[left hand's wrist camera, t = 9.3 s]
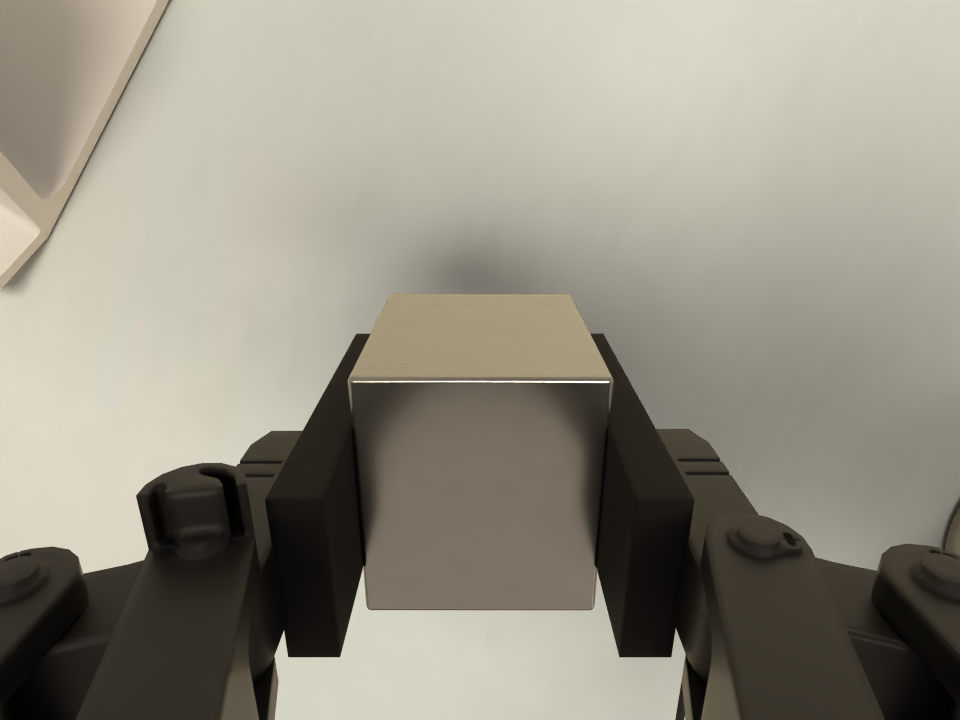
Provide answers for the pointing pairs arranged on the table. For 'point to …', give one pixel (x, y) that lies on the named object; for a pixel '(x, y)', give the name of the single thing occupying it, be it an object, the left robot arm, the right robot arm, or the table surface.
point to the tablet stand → (57, 103)
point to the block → (480, 453)
